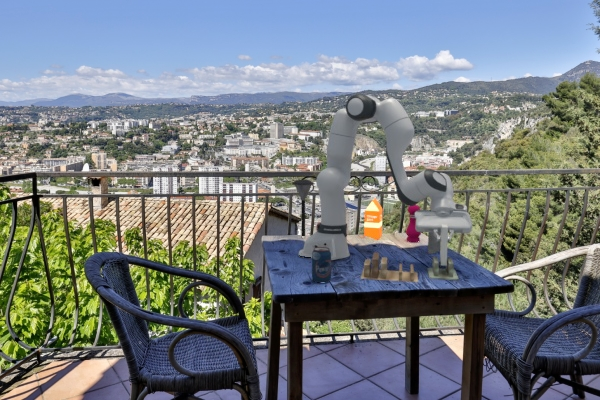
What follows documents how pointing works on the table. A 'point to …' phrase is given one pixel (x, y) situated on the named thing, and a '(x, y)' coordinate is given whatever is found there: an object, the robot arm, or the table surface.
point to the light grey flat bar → (443, 245)
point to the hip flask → (433, 243)
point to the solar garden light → (303, 197)
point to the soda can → (321, 264)
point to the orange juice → (373, 220)
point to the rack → (386, 271)
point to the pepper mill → (412, 225)
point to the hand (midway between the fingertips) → (443, 241)
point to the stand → (442, 270)
